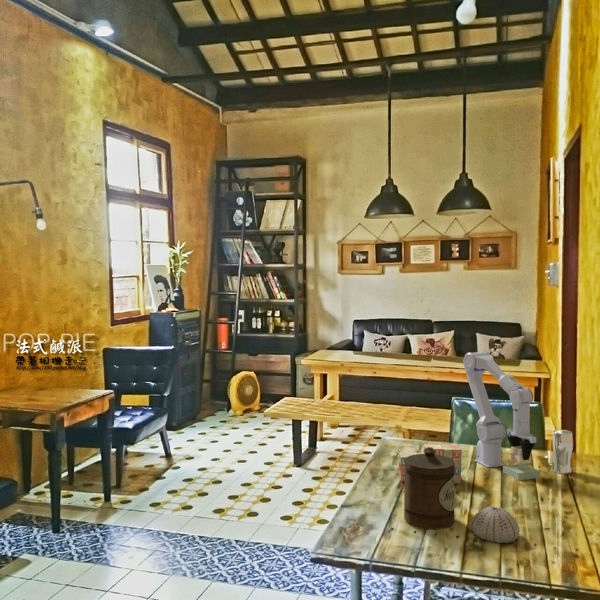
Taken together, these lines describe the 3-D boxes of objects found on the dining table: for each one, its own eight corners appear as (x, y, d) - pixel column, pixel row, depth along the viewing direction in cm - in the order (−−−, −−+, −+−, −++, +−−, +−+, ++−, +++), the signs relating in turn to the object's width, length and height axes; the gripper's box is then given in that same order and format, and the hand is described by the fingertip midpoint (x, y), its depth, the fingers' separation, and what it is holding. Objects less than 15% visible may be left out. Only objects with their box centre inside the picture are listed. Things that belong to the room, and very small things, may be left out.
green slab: (502, 473, 229) (503, 465, 229) (523, 471, 231) (523, 463, 231) (518, 481, 220) (518, 473, 220) (539, 478, 223) (539, 470, 223)
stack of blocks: (400, 483, 218) (400, 448, 218) (398, 477, 225) (398, 444, 224) (461, 483, 217) (461, 449, 217) (457, 477, 224) (457, 444, 223)
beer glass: (575, 474, 226) (576, 434, 226) (556, 474, 226) (557, 434, 226) (567, 468, 233) (568, 429, 233) (549, 468, 233) (549, 429, 233)
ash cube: (510, 460, 227) (510, 446, 227) (522, 459, 229) (522, 445, 228) (519, 464, 222) (519, 450, 222) (531, 462, 224) (531, 449, 224)
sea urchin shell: (486, 523, 182) (486, 496, 182) (529, 537, 172) (529, 509, 172) (461, 535, 174) (461, 507, 173) (504, 551, 163) (504, 521, 163)
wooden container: (455, 531, 176) (455, 456, 175) (403, 527, 179) (403, 453, 178) (453, 512, 191) (453, 442, 190) (405, 509, 194) (405, 440, 193)
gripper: (500, 417, 231) (499, 453, 231) (524, 426, 217) (524, 464, 217) (516, 416, 233) (515, 451, 233) (541, 424, 219) (541, 462, 219)
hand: (521, 457), depth 226 cm, fingers closed on ash cube, 5 cm apart
